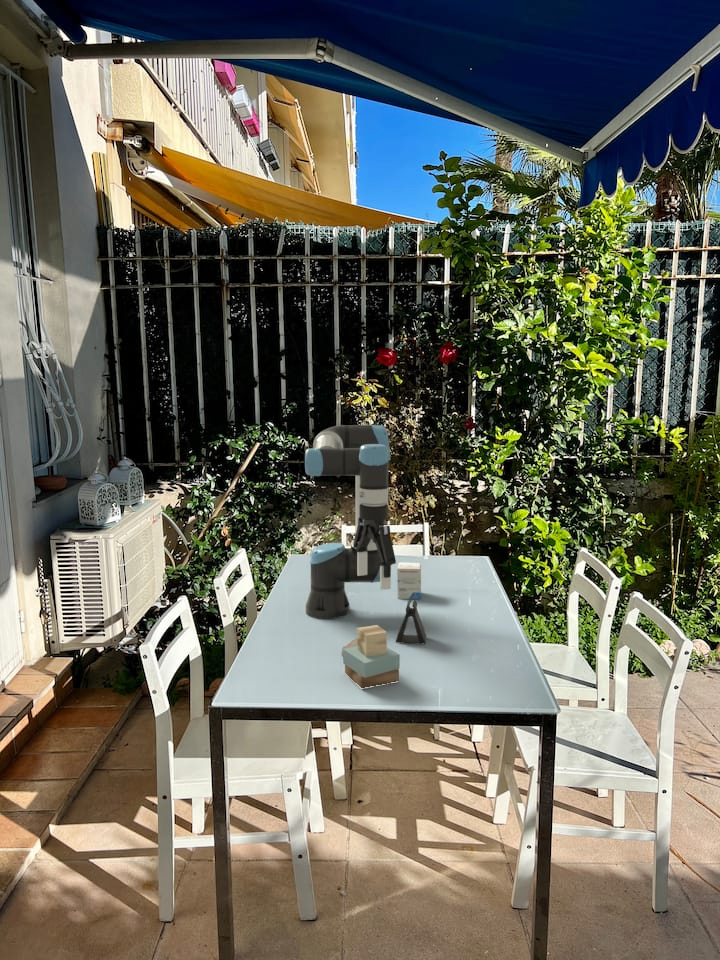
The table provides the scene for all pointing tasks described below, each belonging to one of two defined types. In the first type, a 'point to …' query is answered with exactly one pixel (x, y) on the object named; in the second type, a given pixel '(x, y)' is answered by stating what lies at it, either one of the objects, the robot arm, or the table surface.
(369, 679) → the tower base
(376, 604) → the table surface
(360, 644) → the oak block
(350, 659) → the tower top
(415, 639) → the phone stand
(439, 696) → the table surface
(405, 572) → the ink box
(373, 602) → the table surface
